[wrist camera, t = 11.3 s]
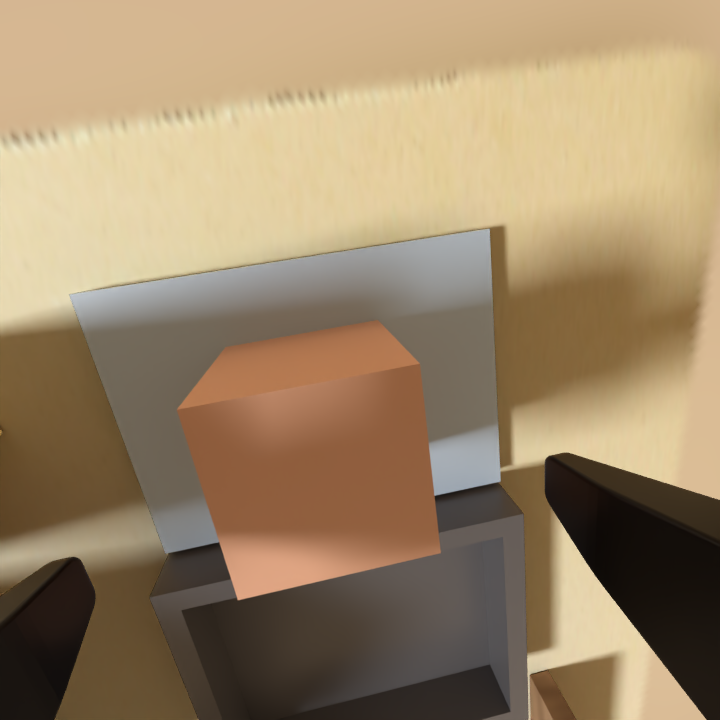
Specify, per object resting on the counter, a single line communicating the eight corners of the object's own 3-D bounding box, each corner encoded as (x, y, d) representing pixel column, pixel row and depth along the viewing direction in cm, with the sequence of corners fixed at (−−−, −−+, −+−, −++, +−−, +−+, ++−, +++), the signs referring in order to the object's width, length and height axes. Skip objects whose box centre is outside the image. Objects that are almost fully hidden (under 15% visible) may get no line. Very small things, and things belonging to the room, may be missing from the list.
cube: (260, 479, 14) (238, 600, 9) (226, 346, 12) (176, 409, 8) (396, 451, 14) (441, 553, 10) (377, 319, 13) (420, 363, 8)
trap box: (240, 728, 18) (231, 800, 16) (173, 542, 15) (149, 597, 13) (501, 661, 20) (528, 719, 17) (491, 474, 16) (523, 513, 14)
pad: (172, 538, 15) (165, 553, 14) (83, 291, 12) (69, 294, 11) (491, 470, 16) (500, 481, 15) (478, 229, 13) (489, 228, 13)
